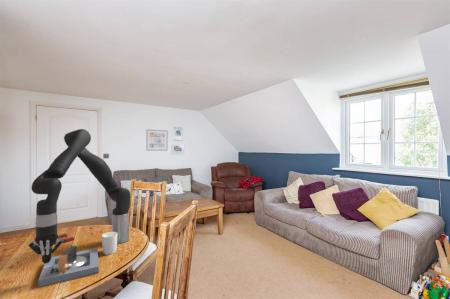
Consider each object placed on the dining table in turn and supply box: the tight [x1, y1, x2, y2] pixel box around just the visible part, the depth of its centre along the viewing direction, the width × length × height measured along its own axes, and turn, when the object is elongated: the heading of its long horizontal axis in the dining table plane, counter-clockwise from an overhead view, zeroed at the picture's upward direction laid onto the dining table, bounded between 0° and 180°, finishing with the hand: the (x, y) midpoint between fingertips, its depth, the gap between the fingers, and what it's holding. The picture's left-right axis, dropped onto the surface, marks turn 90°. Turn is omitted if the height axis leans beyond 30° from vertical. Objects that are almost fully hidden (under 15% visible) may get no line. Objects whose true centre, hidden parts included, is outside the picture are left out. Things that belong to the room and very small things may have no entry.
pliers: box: [37, 233, 75, 247], centre depth 138 cm, size 12×20×3 cm, turn 149°
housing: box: [37, 248, 100, 288], centre depth 110 cm, size 22×22×3 cm
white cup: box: [101, 231, 118, 256], centre depth 127 cm, size 8×8×10 cm
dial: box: [57, 245, 86, 273], centre depth 108 cm, size 16×12×9 cm
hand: (46, 262), depth 100 cm, fingers closed
